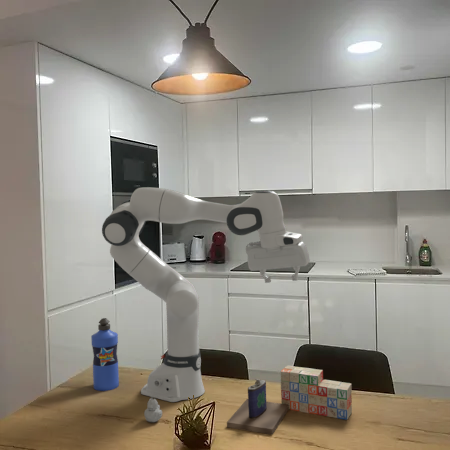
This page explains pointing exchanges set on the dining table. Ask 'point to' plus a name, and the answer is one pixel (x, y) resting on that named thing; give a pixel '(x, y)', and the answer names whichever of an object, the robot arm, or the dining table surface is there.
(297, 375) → the stack of blocks
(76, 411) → the dining table surface
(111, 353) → the water bottle
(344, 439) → the dining table surface
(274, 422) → the walnut board
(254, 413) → the flask
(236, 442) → the dining table surface
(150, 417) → the rubber duck
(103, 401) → the dining table surface
